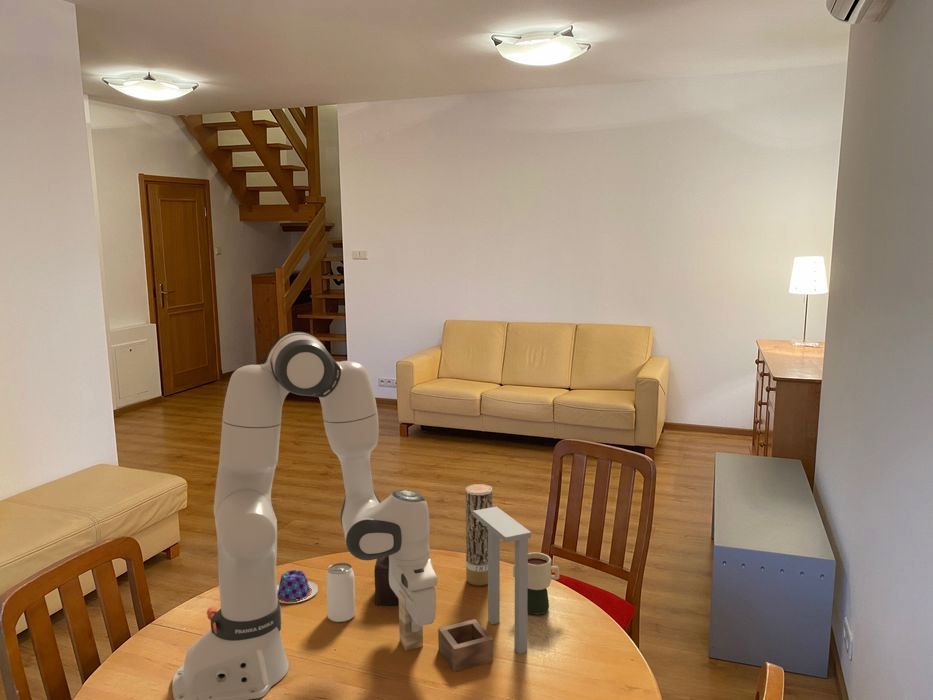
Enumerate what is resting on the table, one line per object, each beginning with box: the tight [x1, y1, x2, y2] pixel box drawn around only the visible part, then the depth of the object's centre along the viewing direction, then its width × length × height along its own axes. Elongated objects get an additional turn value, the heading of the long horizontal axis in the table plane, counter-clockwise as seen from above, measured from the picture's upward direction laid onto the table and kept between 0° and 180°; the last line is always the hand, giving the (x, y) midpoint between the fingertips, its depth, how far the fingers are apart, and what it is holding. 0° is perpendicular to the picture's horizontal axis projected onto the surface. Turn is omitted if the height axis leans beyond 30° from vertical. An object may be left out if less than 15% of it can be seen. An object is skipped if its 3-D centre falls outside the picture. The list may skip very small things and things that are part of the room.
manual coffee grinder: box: [373, 556, 399, 607], centre depth 174 cm, size 16×11×18 cm
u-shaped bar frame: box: [473, 506, 532, 655], centre depth 154 cm, size 6×16×27 cm, turn 24°
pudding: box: [277, 569, 319, 604], centre depth 176 cm, size 12×12×5 cm
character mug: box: [512, 552, 560, 615], centre depth 167 cm, size 11×7×13 cm, turn 86°
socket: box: [437, 618, 494, 673], centre depth 149 cm, size 9×9×5 cm
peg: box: [398, 590, 424, 651], centre depth 153 cm, size 4×4×12 cm
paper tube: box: [465, 483, 493, 587], centre depth 180 cm, size 7×7×25 cm
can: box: [325, 562, 356, 623], centre depth 165 cm, size 6×6×12 cm
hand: (410, 624), depth 153 cm, fingers closed on peg, 4 cm apart
